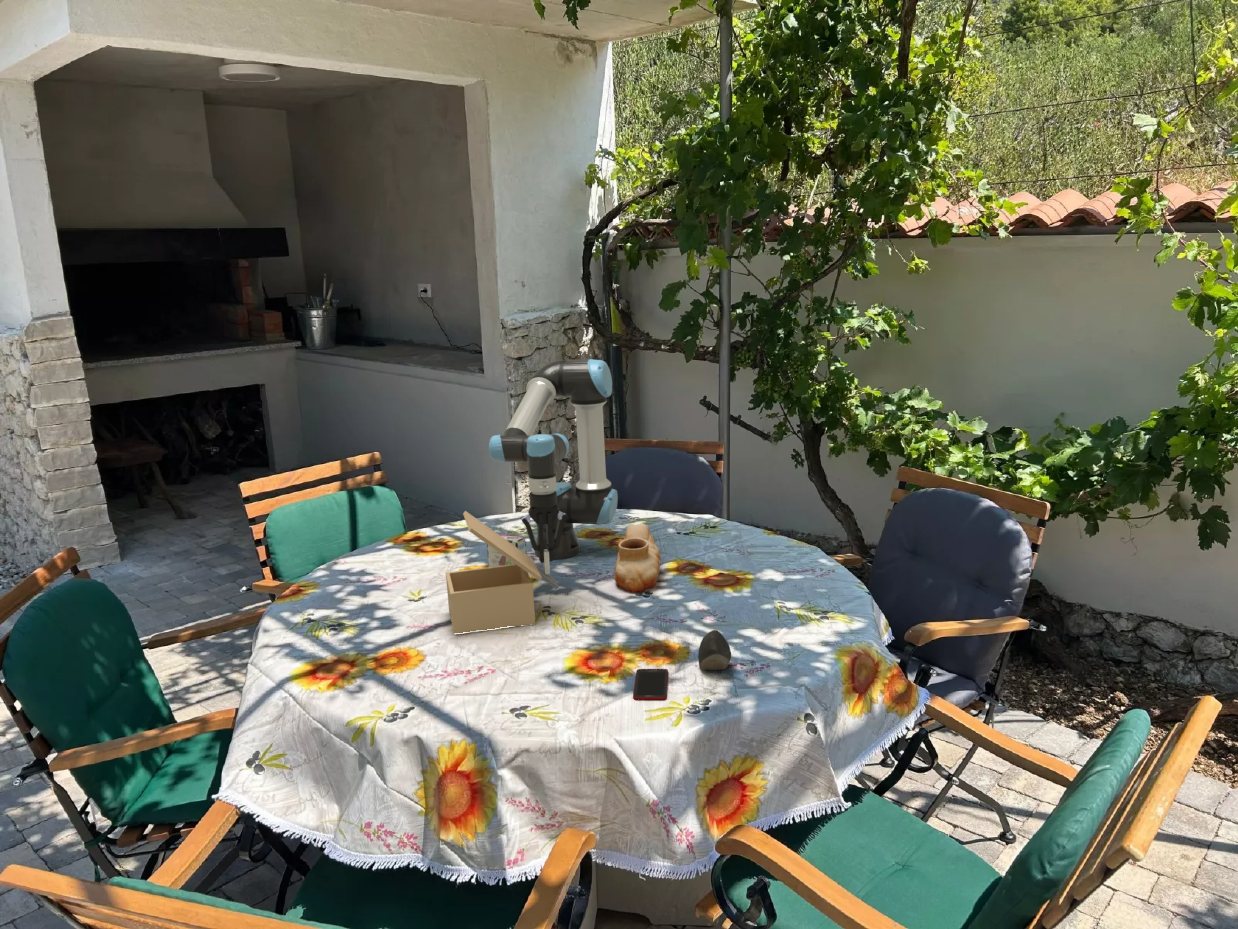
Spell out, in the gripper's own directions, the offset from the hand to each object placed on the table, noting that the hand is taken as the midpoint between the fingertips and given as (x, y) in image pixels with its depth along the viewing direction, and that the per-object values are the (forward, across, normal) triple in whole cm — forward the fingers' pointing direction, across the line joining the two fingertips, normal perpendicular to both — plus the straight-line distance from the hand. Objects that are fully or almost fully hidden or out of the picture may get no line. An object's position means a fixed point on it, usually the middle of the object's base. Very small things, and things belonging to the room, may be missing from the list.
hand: (546, 572), depth 263 cm
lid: (-7, -10, 0) cm, 12 cm away
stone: (+12, +32, -49) cm, 60 cm away
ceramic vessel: (+11, +31, +16) cm, 36 cm away
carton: (+12, -16, 0) cm, 20 cm away
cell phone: (+13, +15, -52) cm, 56 cm away
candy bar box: (+11, -8, +21) cm, 25 cm away
